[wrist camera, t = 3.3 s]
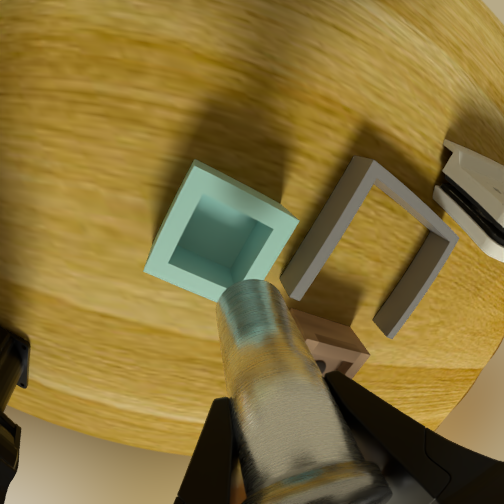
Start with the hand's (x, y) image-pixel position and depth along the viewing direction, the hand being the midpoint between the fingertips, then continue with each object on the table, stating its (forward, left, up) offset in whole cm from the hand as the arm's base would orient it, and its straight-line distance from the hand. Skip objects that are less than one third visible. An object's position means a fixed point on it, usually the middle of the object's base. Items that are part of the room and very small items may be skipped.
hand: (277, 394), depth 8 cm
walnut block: (-5, -10, -13) cm, 17 cm away
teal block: (+1, +1, -13) cm, 13 cm away
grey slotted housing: (+15, -19, -13) cm, 28 cm away
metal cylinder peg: (0, 0, -5) cm, 5 cm away
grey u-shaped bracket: (+4, -10, -12) cm, 16 cm away
